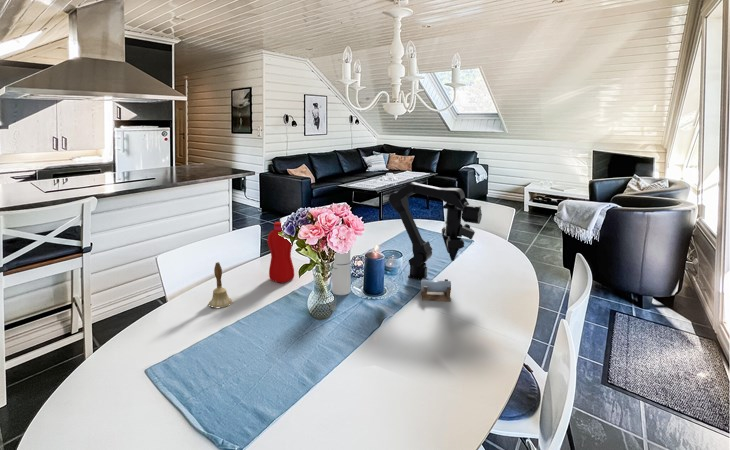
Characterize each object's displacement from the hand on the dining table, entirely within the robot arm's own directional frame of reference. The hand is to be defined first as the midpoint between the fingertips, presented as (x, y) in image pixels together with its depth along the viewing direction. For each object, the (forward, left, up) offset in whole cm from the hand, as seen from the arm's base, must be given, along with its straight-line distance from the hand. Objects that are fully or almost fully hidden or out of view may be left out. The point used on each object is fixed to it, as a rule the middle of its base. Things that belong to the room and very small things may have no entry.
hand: (450, 256), depth 159 cm
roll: (-1, -14, -10) cm, 17 cm away
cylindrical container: (-34, -30, -12) cm, 47 cm away
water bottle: (-62, -33, -12) cm, 71 cm away
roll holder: (-1, -14, -12) cm, 19 cm away
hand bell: (-66, -62, -12) cm, 91 cm away
